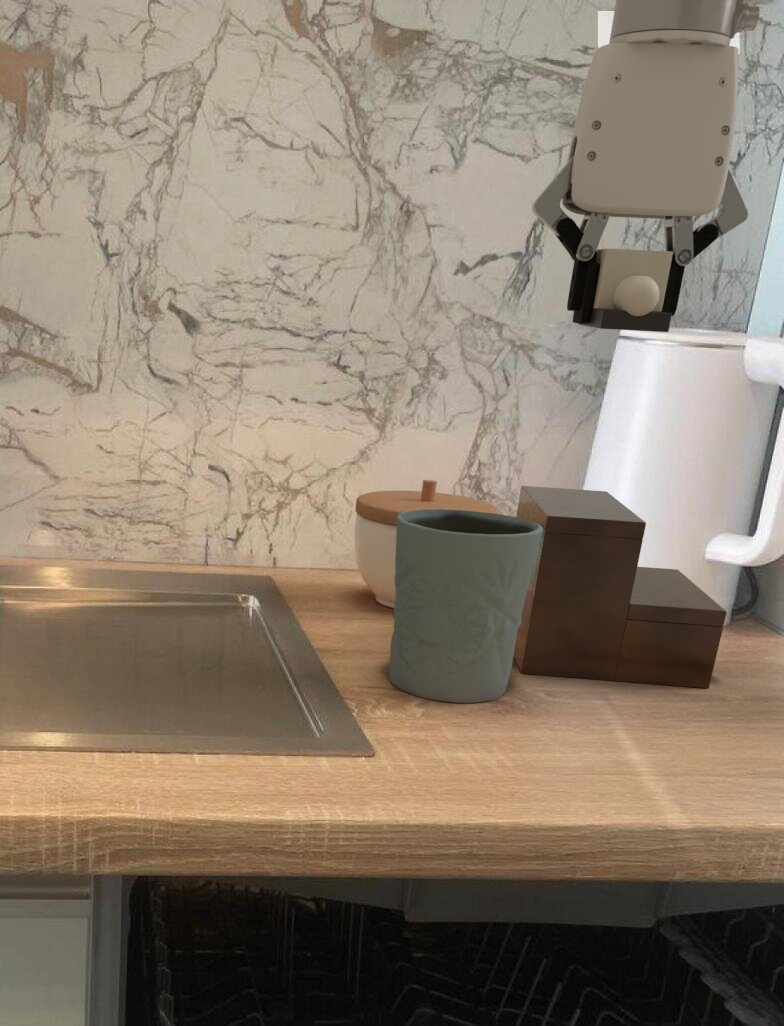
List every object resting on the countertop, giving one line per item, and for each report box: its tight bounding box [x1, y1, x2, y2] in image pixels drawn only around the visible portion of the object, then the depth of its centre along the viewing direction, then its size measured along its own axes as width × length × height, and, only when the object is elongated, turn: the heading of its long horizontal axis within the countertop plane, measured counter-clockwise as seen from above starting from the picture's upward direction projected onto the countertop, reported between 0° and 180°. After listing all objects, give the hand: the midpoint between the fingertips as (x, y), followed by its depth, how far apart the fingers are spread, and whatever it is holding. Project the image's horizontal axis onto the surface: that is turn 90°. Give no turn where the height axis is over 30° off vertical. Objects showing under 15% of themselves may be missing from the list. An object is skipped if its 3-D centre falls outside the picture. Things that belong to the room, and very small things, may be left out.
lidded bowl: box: [354, 479, 500, 609], centre depth 108 cm, size 13×13×11 cm
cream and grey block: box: [577, 248, 673, 333], centre depth 83 cm, size 9×4×5 cm, turn 174°
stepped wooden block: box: [513, 485, 728, 689], centre depth 95 cm, size 14×14×12 cm
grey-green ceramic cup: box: [389, 509, 543, 704], centre depth 86 cm, size 10×10×12 cm
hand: (618, 322), depth 85 cm, fingers closed on cream and grey block, 4 cm apart
